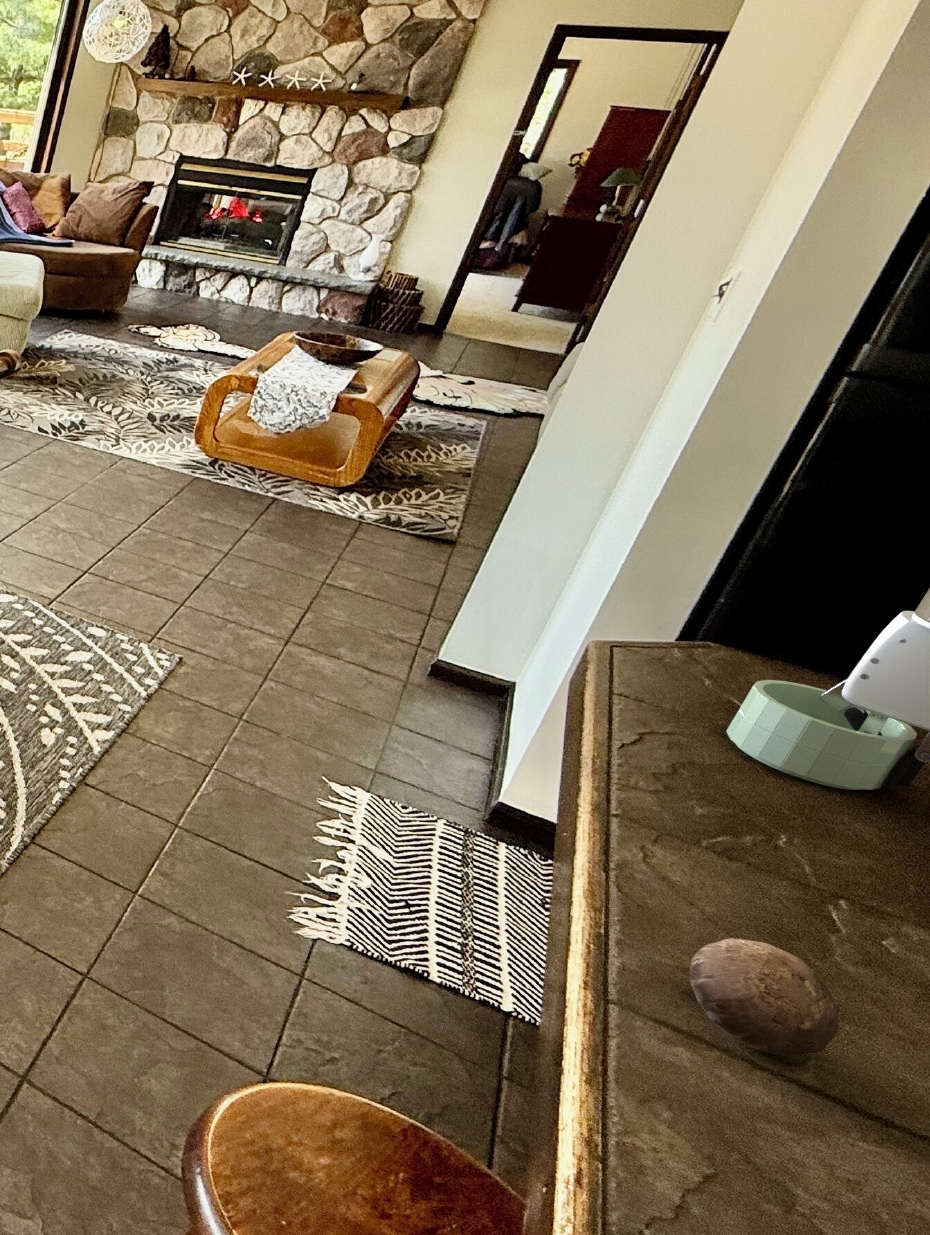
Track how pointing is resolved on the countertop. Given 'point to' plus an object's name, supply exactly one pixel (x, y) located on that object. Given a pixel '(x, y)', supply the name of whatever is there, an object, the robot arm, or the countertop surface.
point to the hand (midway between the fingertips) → (871, 779)
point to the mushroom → (764, 997)
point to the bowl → (815, 738)
